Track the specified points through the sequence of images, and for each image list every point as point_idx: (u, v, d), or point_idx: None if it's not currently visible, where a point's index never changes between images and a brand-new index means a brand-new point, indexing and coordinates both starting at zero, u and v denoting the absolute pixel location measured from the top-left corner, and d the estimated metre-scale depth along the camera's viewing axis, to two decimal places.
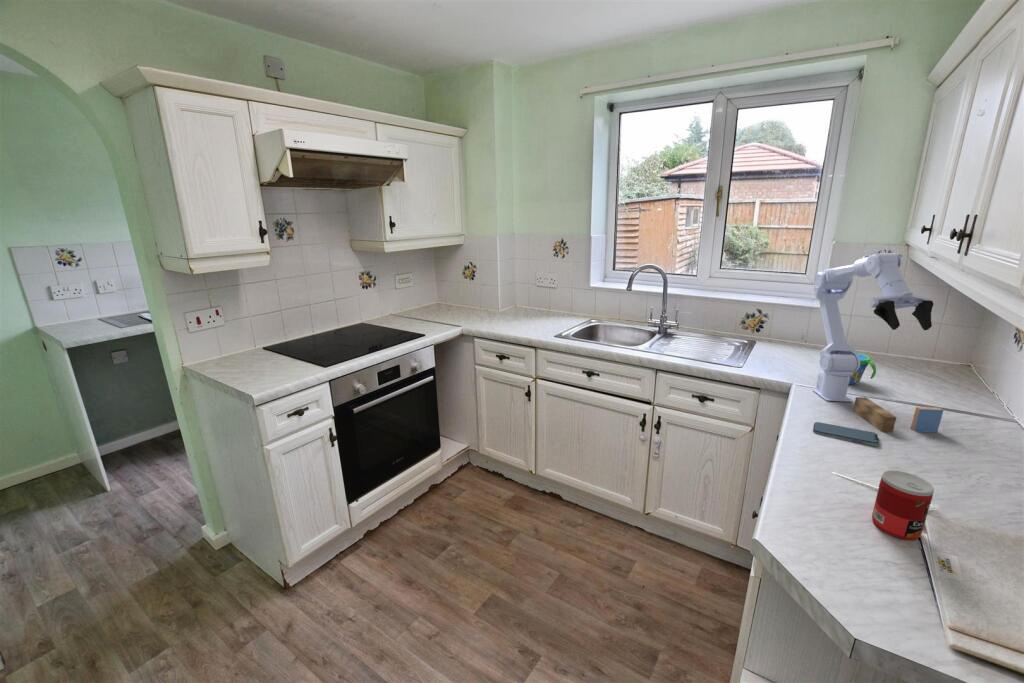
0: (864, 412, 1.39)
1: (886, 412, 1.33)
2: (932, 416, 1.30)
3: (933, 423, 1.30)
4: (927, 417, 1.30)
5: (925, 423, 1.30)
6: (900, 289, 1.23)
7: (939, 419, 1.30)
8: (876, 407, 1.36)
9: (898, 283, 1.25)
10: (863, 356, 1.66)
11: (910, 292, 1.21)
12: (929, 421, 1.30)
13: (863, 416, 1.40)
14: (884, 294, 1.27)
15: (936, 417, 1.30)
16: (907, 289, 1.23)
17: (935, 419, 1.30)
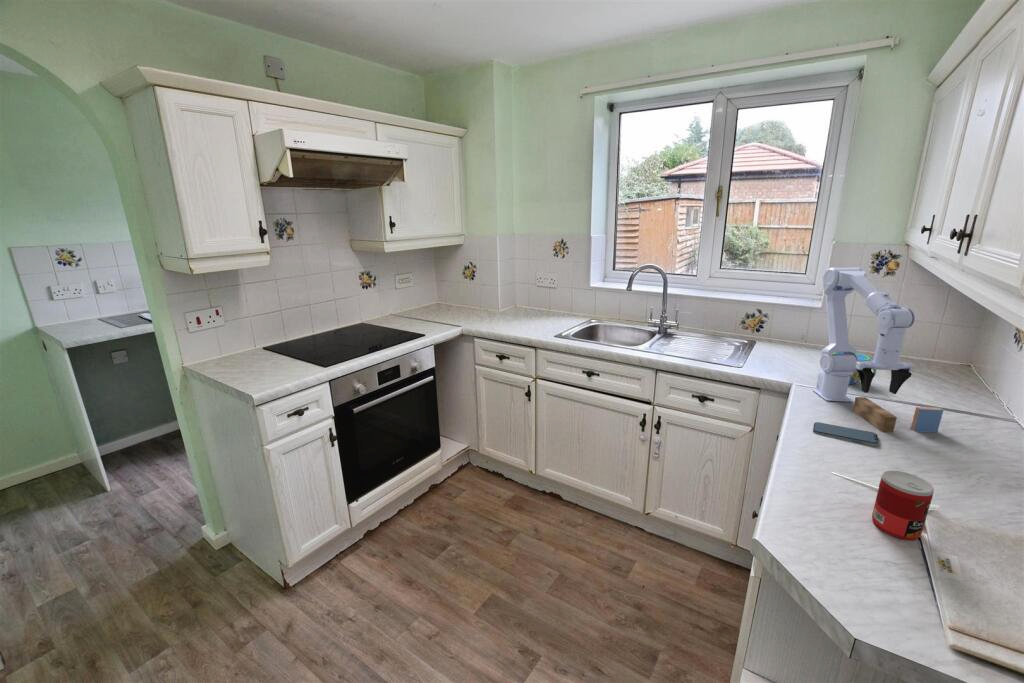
0: (864, 412, 1.39)
1: (886, 412, 1.33)
2: (932, 416, 1.30)
3: (933, 423, 1.30)
4: (927, 417, 1.30)
5: (925, 423, 1.30)
6: (889, 361, 1.30)
7: (939, 419, 1.30)
8: (876, 407, 1.36)
9: (892, 354, 1.29)
10: (863, 356, 1.66)
11: (895, 369, 1.29)
12: (929, 421, 1.30)
13: (863, 417, 1.40)
14: (875, 354, 1.33)
15: (936, 417, 1.30)
16: (896, 360, 1.30)
17: (935, 419, 1.30)
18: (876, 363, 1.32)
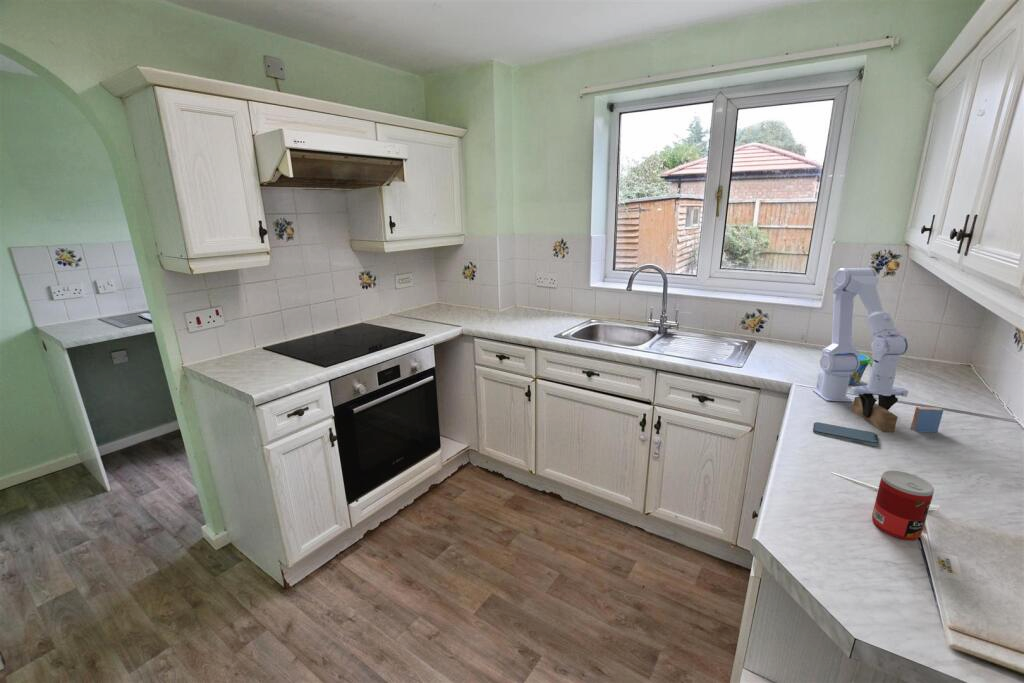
0: None
1: (887, 412, 1.33)
2: (932, 416, 1.30)
3: (933, 423, 1.30)
4: (927, 417, 1.30)
5: (925, 423, 1.30)
6: (883, 387, 1.32)
7: (939, 419, 1.30)
8: (876, 407, 1.36)
9: (885, 380, 1.31)
10: (863, 356, 1.66)
11: (889, 395, 1.31)
12: (929, 421, 1.30)
13: (863, 416, 1.40)
14: (869, 380, 1.35)
15: (936, 417, 1.30)
16: (890, 386, 1.32)
17: (935, 419, 1.30)
18: (870, 388, 1.35)
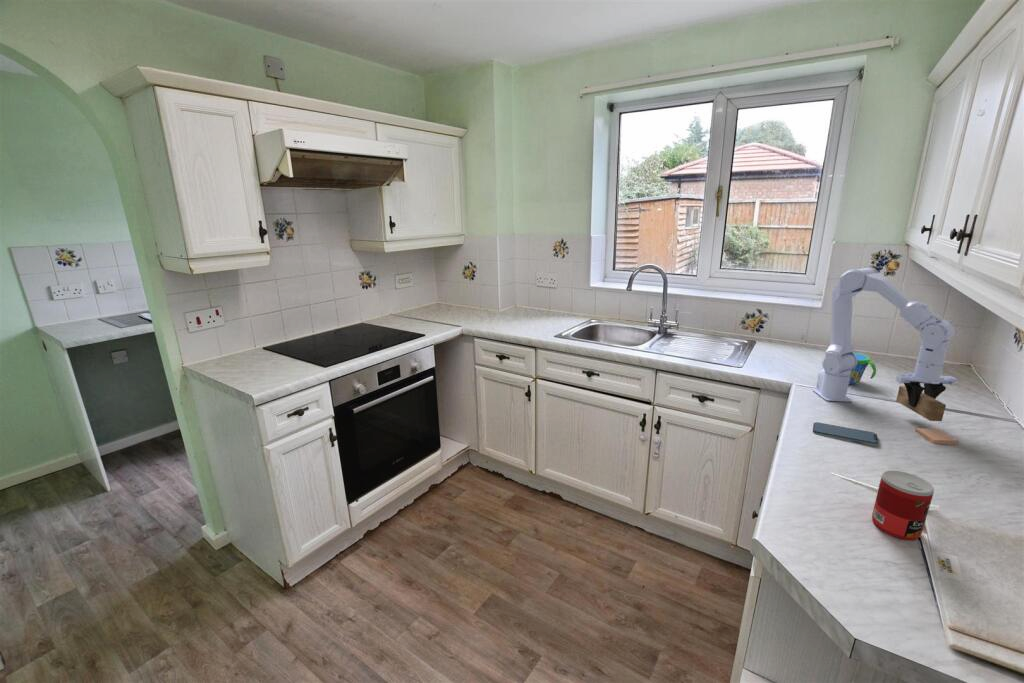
0: None
1: (934, 400, 1.29)
2: None
3: None
4: None
5: None
6: (931, 375, 1.28)
7: None
8: (923, 395, 1.32)
9: (934, 368, 1.28)
10: (863, 356, 1.66)
11: (937, 383, 1.28)
12: None
13: (908, 405, 1.36)
14: (916, 368, 1.32)
15: None
16: (938, 374, 1.28)
17: None
18: (917, 377, 1.31)
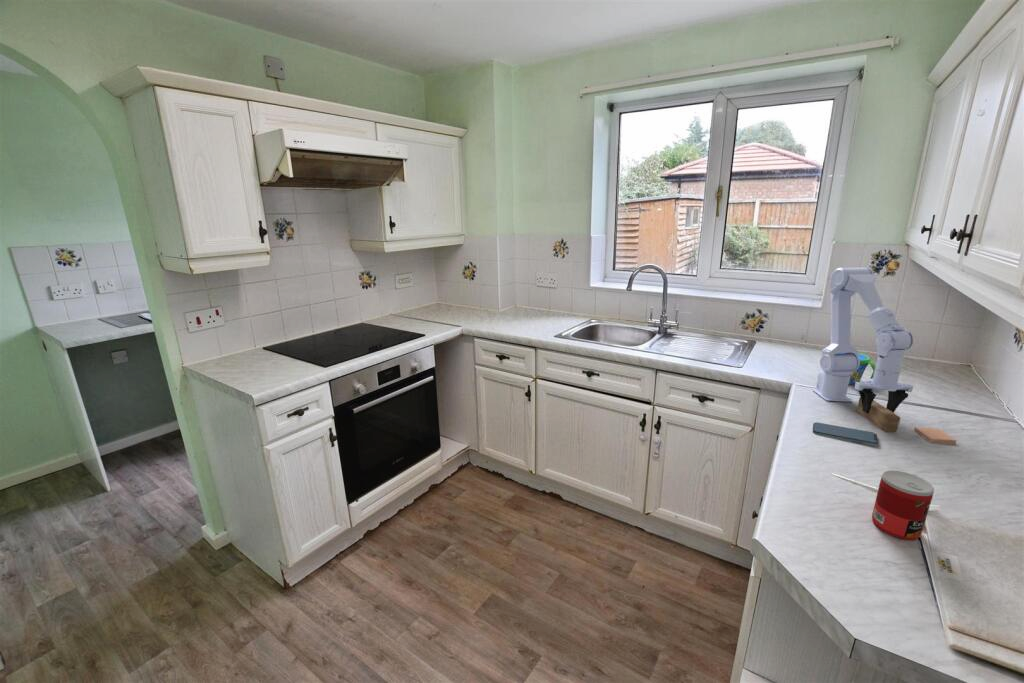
0: None
1: (890, 412, 1.33)
2: None
3: None
4: None
5: None
6: (888, 382, 1.32)
7: None
8: (880, 407, 1.36)
9: (890, 375, 1.31)
10: (863, 356, 1.66)
11: (893, 390, 1.31)
12: None
13: (866, 417, 1.40)
14: (874, 375, 1.35)
15: None
16: (895, 382, 1.31)
17: None
18: (875, 384, 1.34)
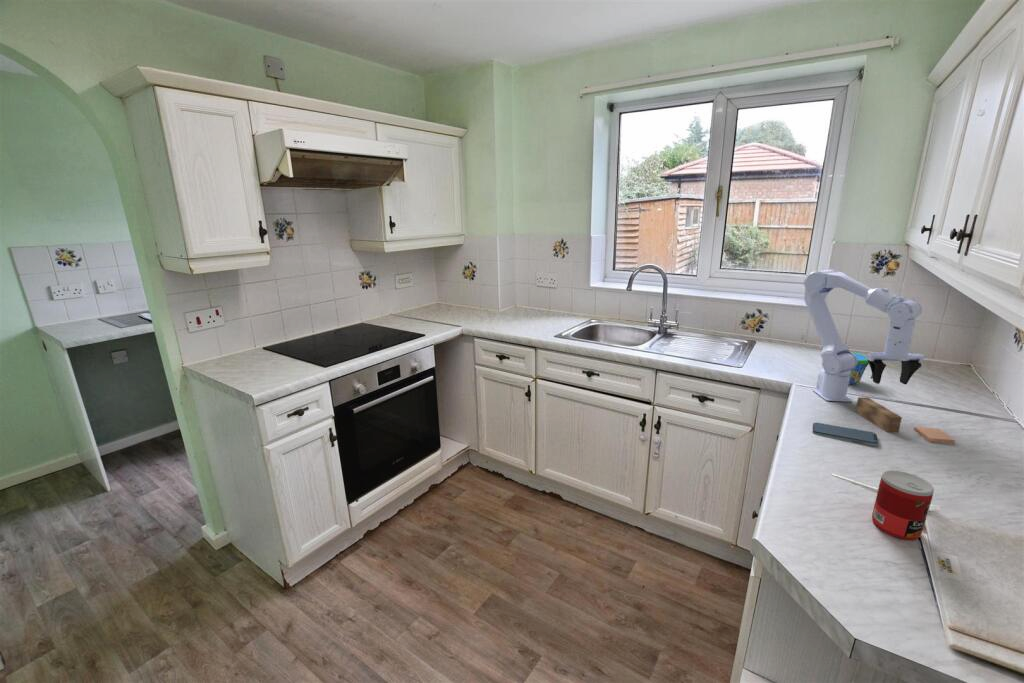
0: (868, 412, 1.39)
1: (891, 412, 1.33)
2: None
3: None
4: None
5: None
6: (899, 352, 1.34)
7: None
8: (880, 407, 1.36)
9: (902, 345, 1.34)
10: (863, 356, 1.66)
11: (905, 359, 1.33)
12: None
13: (866, 417, 1.40)
14: (886, 346, 1.37)
15: None
16: (906, 351, 1.34)
17: None
18: (887, 354, 1.37)
